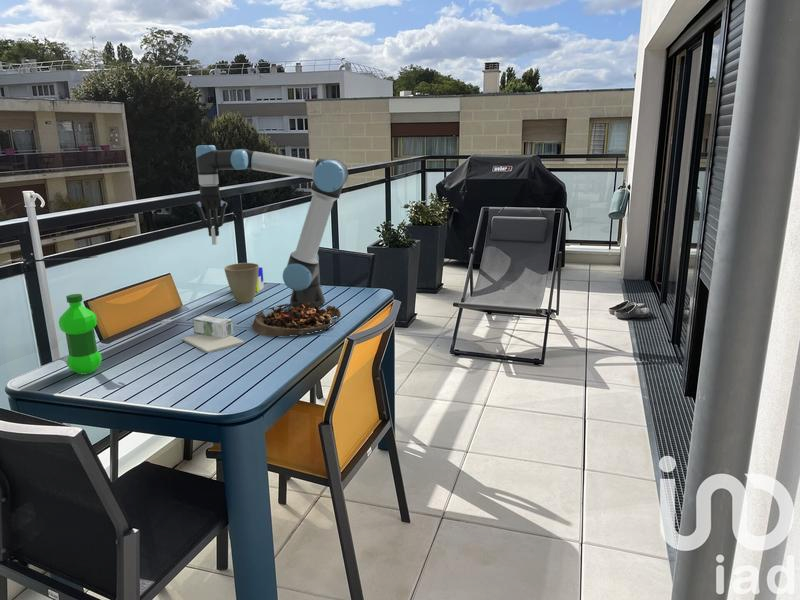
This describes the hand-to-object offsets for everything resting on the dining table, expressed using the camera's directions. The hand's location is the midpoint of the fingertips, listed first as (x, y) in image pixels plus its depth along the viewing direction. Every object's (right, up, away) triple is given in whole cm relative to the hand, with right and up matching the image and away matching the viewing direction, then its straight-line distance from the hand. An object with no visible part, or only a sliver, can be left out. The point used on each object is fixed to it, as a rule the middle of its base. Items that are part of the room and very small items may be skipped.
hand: (214, 244), depth 247 cm
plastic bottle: (-25, -46, -53) cm, 75 cm away
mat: (+8, -38, -28) cm, 47 cm away
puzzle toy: (+3, -18, +47) cm, 50 cm away
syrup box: (-1, -32, -19) cm, 37 cm away
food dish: (+35, -33, -8) cm, 48 cm away
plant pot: (+5, -23, +26) cm, 36 cm away
